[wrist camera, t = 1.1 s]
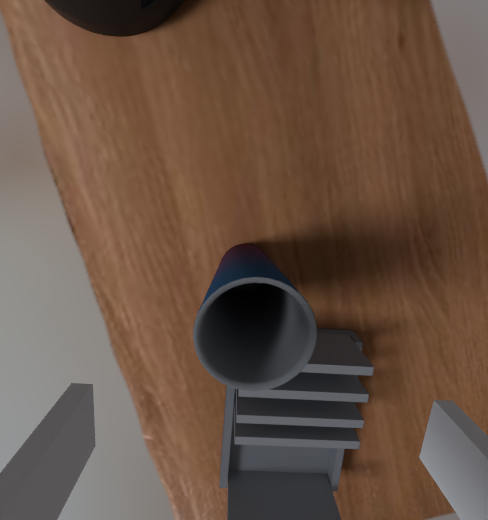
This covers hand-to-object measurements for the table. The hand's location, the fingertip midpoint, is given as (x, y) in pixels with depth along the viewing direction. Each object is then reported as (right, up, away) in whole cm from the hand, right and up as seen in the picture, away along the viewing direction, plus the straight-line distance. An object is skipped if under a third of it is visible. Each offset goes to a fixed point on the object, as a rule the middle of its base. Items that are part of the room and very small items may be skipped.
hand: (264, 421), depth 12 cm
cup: (-1, +5, +20) cm, 21 cm away
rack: (+4, -10, +23) cm, 26 cm away
